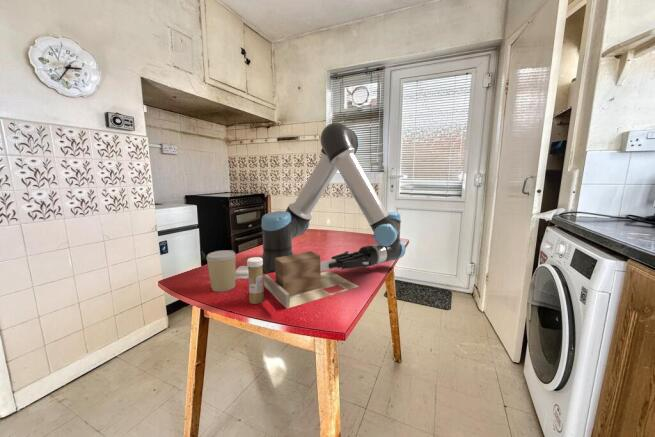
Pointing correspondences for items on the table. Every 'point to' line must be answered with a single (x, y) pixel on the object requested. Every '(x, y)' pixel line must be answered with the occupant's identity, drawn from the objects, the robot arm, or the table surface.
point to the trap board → (326, 281)
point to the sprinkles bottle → (255, 280)
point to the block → (298, 272)
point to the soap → (242, 272)
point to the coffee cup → (222, 270)
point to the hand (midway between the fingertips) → (319, 266)
